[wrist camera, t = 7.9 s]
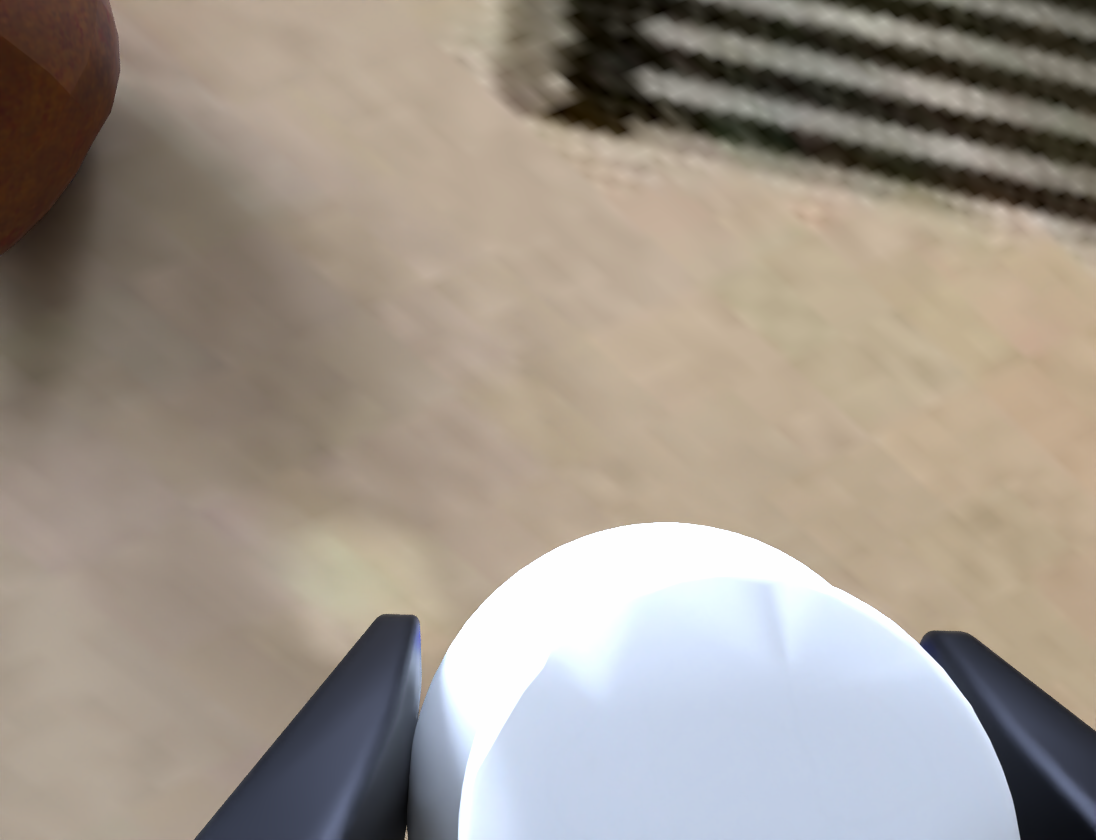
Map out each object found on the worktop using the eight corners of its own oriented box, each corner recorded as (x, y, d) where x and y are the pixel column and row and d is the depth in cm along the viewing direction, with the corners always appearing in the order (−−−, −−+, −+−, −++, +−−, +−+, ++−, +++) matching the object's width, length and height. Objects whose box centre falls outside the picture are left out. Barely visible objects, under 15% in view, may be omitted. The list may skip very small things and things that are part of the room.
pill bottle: (709, 940, 15) (1076, 1498, 5) (404, 833, 15) (222, 1181, 5) (789, 623, 16) (1197, 608, 6) (509, 529, 16) (508, 379, 7)
